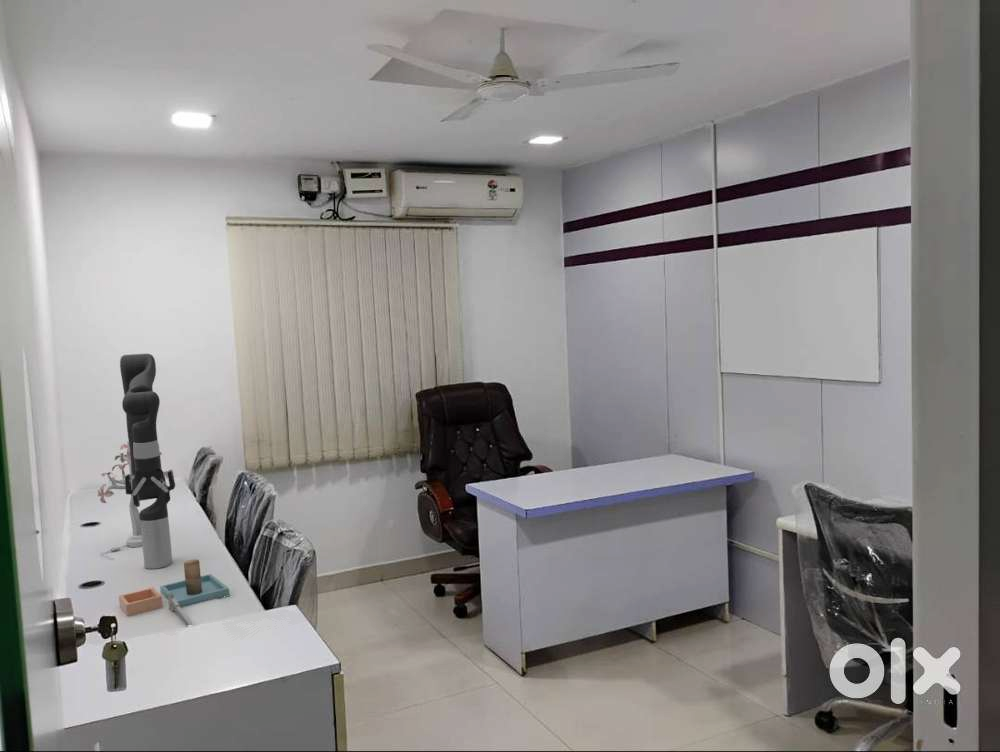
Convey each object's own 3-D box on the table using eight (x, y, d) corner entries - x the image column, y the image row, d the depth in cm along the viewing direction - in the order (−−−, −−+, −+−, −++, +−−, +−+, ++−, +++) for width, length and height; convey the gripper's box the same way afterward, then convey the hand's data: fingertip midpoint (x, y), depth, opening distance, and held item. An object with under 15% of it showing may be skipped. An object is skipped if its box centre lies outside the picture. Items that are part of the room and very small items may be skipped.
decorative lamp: (114, 560, 295) (103, 452, 291) (83, 550, 309) (72, 447, 305) (184, 539, 317) (174, 439, 313) (151, 531, 331) (142, 434, 327)
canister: (184, 592, 257) (181, 561, 256) (199, 588, 260) (196, 558, 259) (188, 596, 254) (185, 565, 252) (203, 592, 256) (201, 561, 255)
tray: (160, 593, 259) (160, 586, 259) (211, 581, 269) (210, 573, 268) (176, 609, 245) (175, 601, 245) (229, 595, 254) (228, 588, 254)
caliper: (169, 611, 244) (167, 591, 244) (172, 610, 245) (170, 590, 244) (191, 631, 229) (189, 610, 228) (195, 630, 229) (193, 609, 229)
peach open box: (119, 608, 248) (118, 595, 248) (154, 599, 254) (153, 587, 254) (127, 618, 240) (126, 605, 240) (162, 608, 246) (161, 596, 246)
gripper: (172, 450, 260) (177, 498, 263) (124, 454, 257) (130, 503, 259) (169, 455, 253) (174, 505, 255) (120, 460, 250) (125, 510, 252)
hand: (152, 504), depth 257 cm, fingers open, 8 cm apart
